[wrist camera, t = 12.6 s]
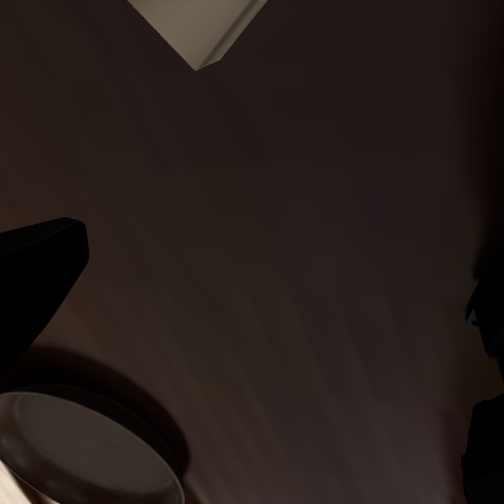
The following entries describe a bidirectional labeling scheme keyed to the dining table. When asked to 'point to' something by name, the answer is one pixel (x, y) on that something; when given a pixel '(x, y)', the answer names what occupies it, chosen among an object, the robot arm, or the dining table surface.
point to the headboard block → (199, 25)
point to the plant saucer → (85, 448)
